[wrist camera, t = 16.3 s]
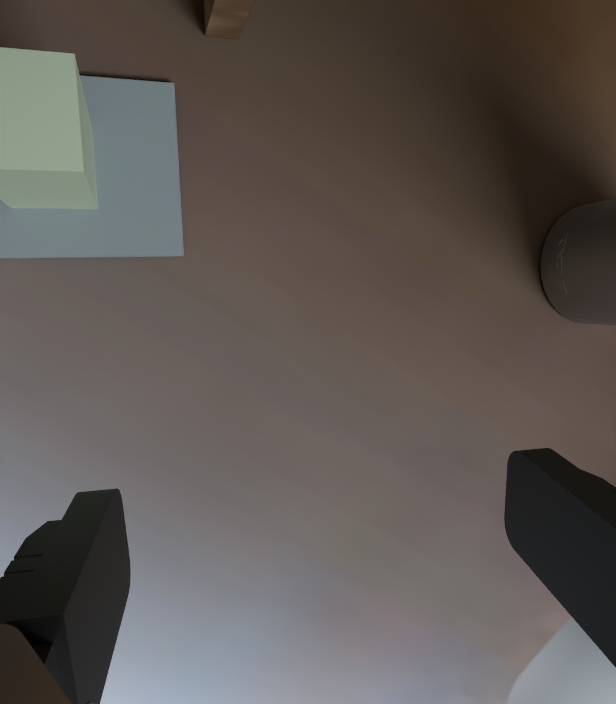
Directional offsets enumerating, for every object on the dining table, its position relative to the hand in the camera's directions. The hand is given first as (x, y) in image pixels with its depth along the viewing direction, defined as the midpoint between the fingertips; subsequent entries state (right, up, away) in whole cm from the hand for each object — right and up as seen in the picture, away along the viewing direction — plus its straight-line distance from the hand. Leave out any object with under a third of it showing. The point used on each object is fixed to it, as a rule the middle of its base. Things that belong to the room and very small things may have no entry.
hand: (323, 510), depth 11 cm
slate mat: (-15, +14, +20) cm, 28 cm away
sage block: (-15, +14, +19) cm, 28 cm away
